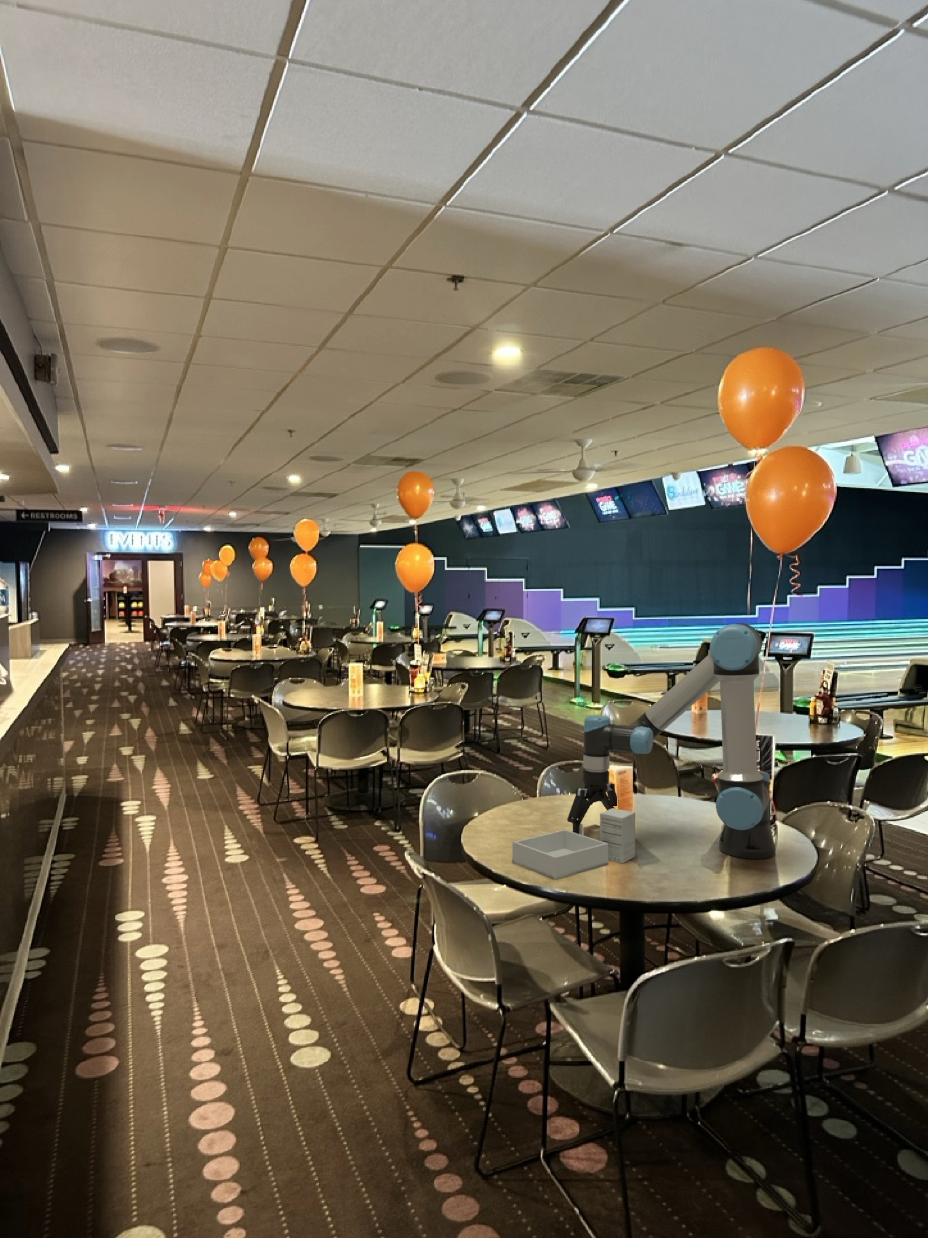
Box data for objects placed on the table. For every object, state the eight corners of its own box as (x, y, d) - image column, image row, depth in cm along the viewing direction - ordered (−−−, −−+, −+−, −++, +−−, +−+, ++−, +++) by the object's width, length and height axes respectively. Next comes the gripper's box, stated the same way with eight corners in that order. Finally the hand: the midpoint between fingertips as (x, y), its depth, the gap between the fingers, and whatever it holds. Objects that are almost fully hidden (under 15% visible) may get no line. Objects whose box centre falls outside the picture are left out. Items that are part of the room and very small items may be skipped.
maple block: (607, 845, 240) (607, 828, 239) (595, 848, 237) (595, 831, 236) (595, 841, 244) (595, 824, 243) (583, 844, 241) (583, 827, 240)
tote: (608, 864, 223) (608, 843, 222) (555, 879, 211) (555, 857, 210) (564, 849, 236) (564, 829, 236) (512, 862, 224) (512, 842, 224)
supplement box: (612, 852, 233) (612, 807, 233) (635, 857, 229) (636, 812, 228) (598, 858, 228) (599, 812, 227) (622, 864, 223) (623, 817, 223)
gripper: (615, 762, 250) (614, 831, 251) (555, 772, 235) (554, 846, 236) (634, 766, 244) (633, 837, 245) (574, 777, 229) (573, 853, 230)
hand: (594, 842), depth 240 cm, fingers open, 13 cm apart
